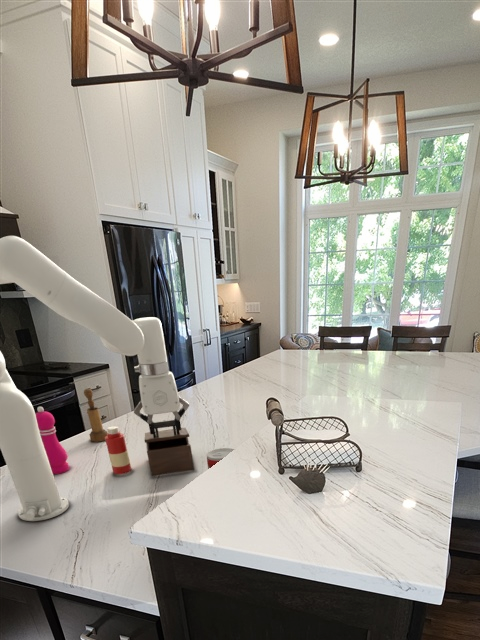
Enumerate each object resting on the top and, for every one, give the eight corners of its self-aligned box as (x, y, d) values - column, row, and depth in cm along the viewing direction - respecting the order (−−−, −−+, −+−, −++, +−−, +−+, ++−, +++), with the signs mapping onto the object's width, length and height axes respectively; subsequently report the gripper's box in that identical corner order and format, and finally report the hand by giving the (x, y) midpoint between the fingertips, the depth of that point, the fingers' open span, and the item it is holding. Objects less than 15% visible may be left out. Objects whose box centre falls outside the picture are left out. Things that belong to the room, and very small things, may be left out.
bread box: (194, 471, 141) (190, 445, 137) (152, 478, 139) (146, 451, 135) (189, 455, 154) (185, 430, 150) (150, 460, 152) (145, 435, 148)
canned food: (207, 490, 129) (202, 451, 124) (235, 483, 132) (231, 445, 126) (216, 500, 123) (211, 460, 117) (245, 493, 126) (241, 454, 120)
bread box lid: (189, 436, 135) (186, 418, 133) (144, 442, 133) (141, 424, 131) (185, 430, 149) (183, 413, 148) (145, 435, 148) (142, 418, 146)
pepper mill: (63, 474, 146) (43, 409, 136) (42, 474, 148) (21, 410, 137) (75, 466, 152) (57, 403, 142) (55, 465, 154) (36, 403, 143)
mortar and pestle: (112, 437, 176) (100, 387, 166) (99, 442, 171) (86, 391, 162) (100, 435, 179) (88, 386, 169) (87, 440, 174) (73, 390, 165)
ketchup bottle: (132, 474, 143) (121, 429, 135) (113, 477, 142) (102, 431, 134) (132, 468, 147) (122, 423, 140) (114, 471, 146) (103, 426, 139)
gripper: (121, 375, 122) (136, 443, 132) (188, 367, 125) (197, 434, 135) (122, 370, 129) (136, 435, 138) (185, 362, 131) (194, 426, 141)
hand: (166, 434), depth 136 cm, fingers closed on bread box lid, 6 cm apart
